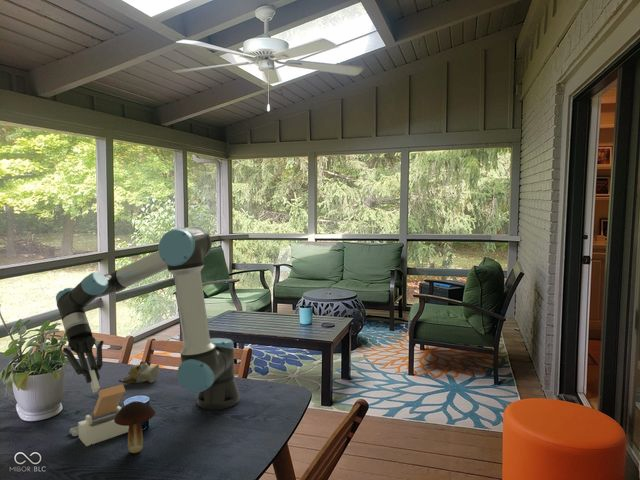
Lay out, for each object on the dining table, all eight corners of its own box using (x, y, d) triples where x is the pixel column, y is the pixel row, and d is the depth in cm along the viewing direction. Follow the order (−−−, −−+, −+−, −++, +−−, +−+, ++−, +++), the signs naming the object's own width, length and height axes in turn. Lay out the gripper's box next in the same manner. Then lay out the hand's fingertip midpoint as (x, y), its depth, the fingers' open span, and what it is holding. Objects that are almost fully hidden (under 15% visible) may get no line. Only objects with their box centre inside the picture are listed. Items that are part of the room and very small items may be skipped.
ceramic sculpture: (153, 365, 181) (116, 367, 181) (155, 386, 182) (118, 388, 182) (163, 356, 192) (127, 358, 192) (164, 376, 192) (129, 378, 193)
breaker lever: (90, 414, 142) (99, 390, 135) (113, 407, 147) (123, 383, 140) (92, 422, 141) (101, 397, 134) (116, 414, 145) (125, 391, 138)
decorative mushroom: (115, 465, 126) (113, 413, 125) (115, 446, 136) (113, 397, 135) (157, 457, 131) (155, 406, 130) (154, 439, 141) (153, 391, 140)
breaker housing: (68, 433, 144) (67, 410, 144) (117, 418, 155) (116, 397, 154) (81, 447, 136) (80, 423, 135) (131, 430, 146) (130, 408, 145)
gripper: (94, 331, 164) (114, 390, 153) (54, 338, 155) (71, 401, 144) (99, 319, 160) (120, 378, 149) (58, 326, 150) (76, 390, 140)
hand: (96, 390), depth 147 cm, fingers closed
